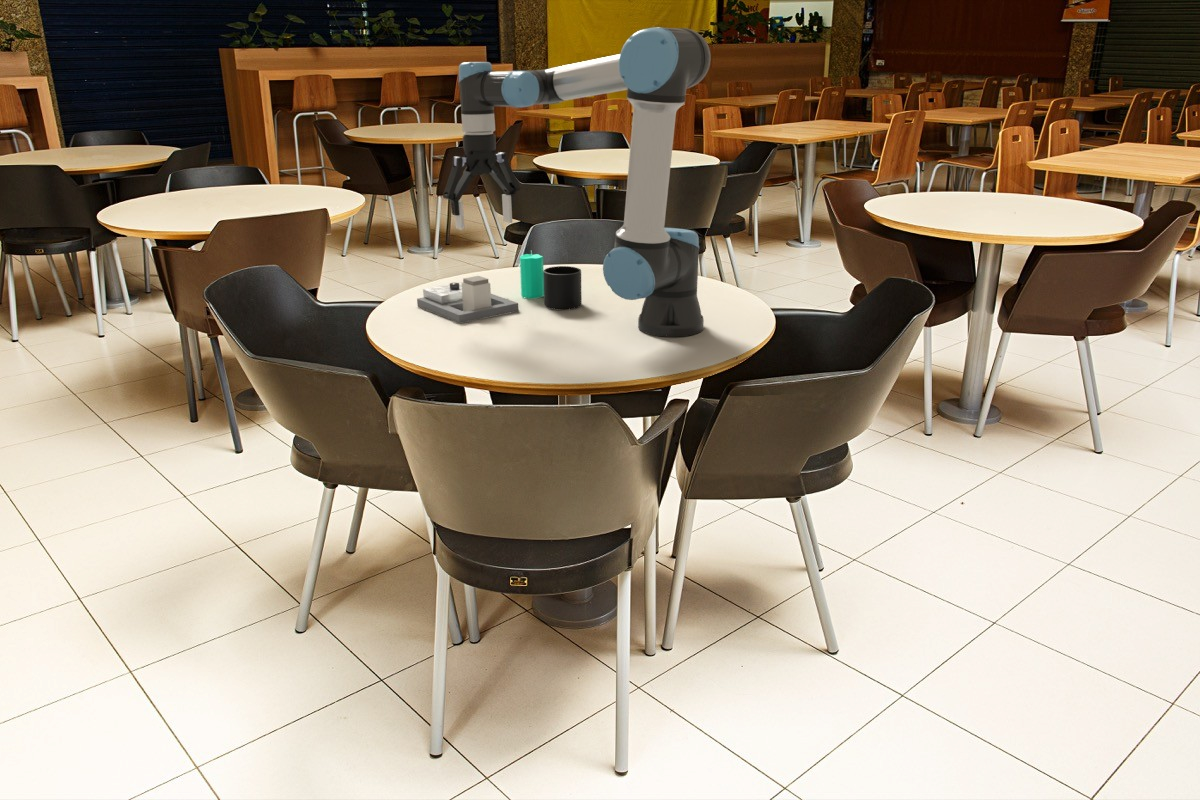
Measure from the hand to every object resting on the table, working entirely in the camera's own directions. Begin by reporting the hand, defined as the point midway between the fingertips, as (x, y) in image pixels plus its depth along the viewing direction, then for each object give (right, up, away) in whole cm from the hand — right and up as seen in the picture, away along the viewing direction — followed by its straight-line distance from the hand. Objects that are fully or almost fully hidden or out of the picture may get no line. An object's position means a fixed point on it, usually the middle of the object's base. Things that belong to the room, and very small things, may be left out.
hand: (484, 225), depth 221 cm
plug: (-3, -20, +7) cm, 22 cm away
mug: (+18, -17, +15) cm, 29 cm away
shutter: (-9, -15, +14) cm, 23 cm away
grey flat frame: (-6, -19, +11) cm, 22 cm away
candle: (+10, -14, +23) cm, 29 cm away
